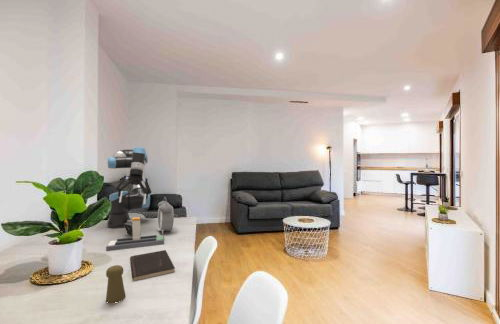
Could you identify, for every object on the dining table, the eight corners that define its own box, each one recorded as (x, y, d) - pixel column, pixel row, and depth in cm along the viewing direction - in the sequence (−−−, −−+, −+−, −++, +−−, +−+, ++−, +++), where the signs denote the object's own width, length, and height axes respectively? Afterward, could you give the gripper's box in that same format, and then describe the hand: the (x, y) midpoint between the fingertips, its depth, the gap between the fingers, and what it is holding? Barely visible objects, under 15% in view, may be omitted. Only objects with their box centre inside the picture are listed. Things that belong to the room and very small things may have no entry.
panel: (110, 244, 142) (110, 239, 142) (163, 238, 150) (163, 233, 150) (106, 250, 132) (106, 245, 132) (163, 244, 141) (163, 238, 141)
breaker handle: (133, 239, 142) (132, 217, 142) (140, 238, 143) (140, 216, 143) (132, 241, 139) (131, 219, 138) (140, 240, 140) (139, 218, 140)
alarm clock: (156, 229, 169) (155, 196, 169) (170, 227, 173) (169, 194, 172) (160, 236, 155) (159, 199, 154) (175, 233, 159) (174, 198, 158)
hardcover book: (165, 254, 127) (165, 249, 127) (175, 273, 107) (174, 267, 107) (130, 261, 120) (130, 256, 120) (132, 282, 100) (132, 276, 100)
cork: (127, 299, 87) (126, 267, 87) (106, 306, 83) (105, 272, 83) (124, 292, 92) (122, 261, 92) (104, 297, 88) (103, 266, 88)
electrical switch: (141, 235, 157) (139, 220, 156) (133, 238, 153) (131, 223, 152) (132, 233, 162) (130, 218, 161) (124, 236, 158) (122, 221, 157)
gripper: (115, 165, 154) (109, 199, 146) (158, 171, 167) (155, 203, 159) (114, 169, 160) (108, 202, 152) (155, 175, 173) (152, 206, 165)
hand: (132, 203), depth 155 cm, fingers open, 13 cm apart
